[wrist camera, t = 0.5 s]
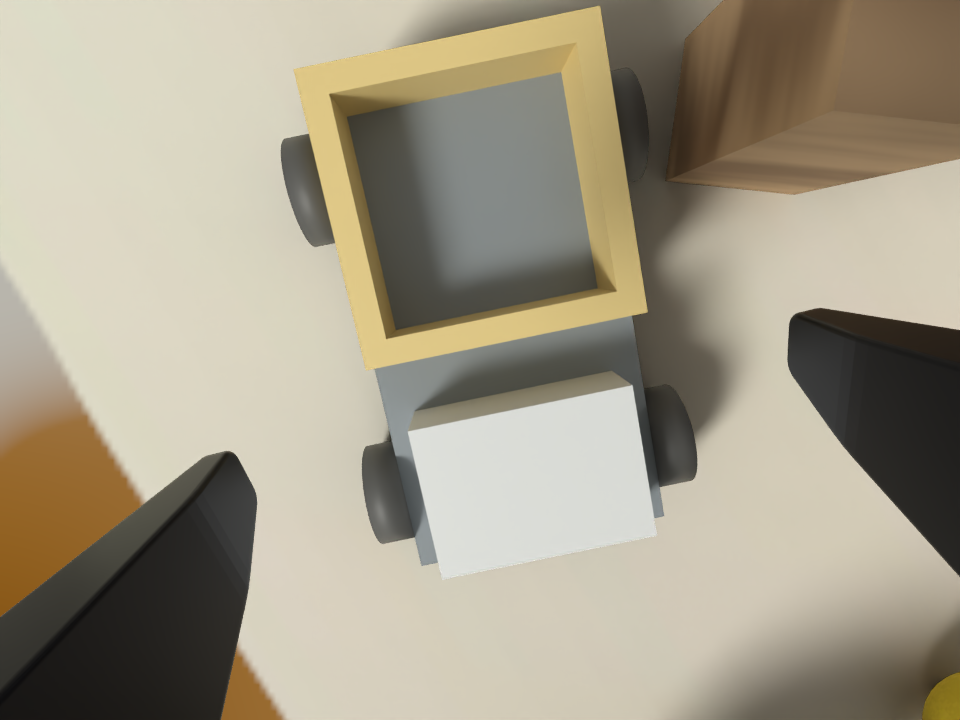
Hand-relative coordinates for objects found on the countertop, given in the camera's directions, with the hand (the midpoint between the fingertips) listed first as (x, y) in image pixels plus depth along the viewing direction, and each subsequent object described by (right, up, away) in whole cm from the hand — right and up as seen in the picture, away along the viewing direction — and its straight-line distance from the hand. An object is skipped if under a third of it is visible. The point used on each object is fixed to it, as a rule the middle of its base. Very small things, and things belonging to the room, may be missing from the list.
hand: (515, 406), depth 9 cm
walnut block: (+9, +10, +12) cm, 18 cm away
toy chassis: (0, +2, +13) cm, 13 cm away
